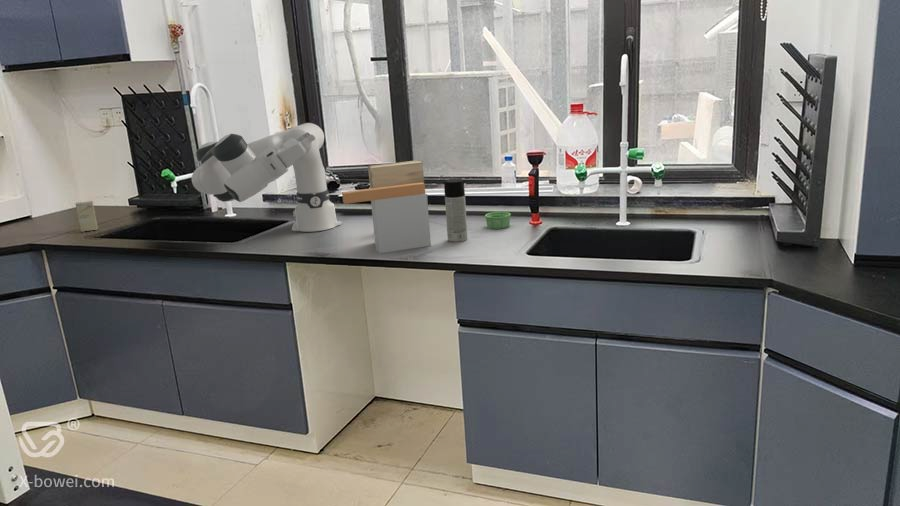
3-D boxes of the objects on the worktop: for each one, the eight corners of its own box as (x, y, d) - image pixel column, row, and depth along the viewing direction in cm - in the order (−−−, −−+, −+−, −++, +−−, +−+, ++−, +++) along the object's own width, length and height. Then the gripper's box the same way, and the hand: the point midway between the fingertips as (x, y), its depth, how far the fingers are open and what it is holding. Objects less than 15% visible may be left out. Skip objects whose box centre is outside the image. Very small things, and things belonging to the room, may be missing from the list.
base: (375, 249, 212) (370, 197, 208) (425, 241, 218) (421, 191, 213) (380, 253, 207) (374, 200, 202) (430, 245, 212) (426, 194, 207)
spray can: (470, 237, 219) (466, 178, 213) (464, 242, 213) (460, 182, 207) (451, 237, 221) (447, 178, 216) (444, 242, 215) (440, 182, 210)
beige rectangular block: (375, 242, 221) (367, 165, 214) (423, 235, 226) (417, 160, 219) (379, 246, 216) (371, 167, 209) (428, 238, 221) (422, 162, 214)
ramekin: (497, 230, 226) (497, 218, 224) (480, 227, 233) (479, 215, 231) (516, 225, 231) (515, 213, 230) (499, 222, 238) (498, 210, 237)
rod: (343, 202, 204) (341, 192, 203) (422, 192, 212) (421, 182, 211) (344, 203, 201) (343, 193, 200) (425, 193, 209) (424, 183, 208)
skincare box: (81, 233, 269) (74, 204, 266) (82, 231, 273) (75, 202, 270) (98, 230, 272) (91, 202, 268) (98, 228, 276) (92, 200, 272)
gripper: (277, 166, 206) (313, 141, 208) (284, 174, 188) (323, 146, 189) (265, 150, 204) (301, 124, 206) (270, 156, 185) (309, 128, 187)
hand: (311, 135), depth 197 cm, fingers open, 8 cm apart
